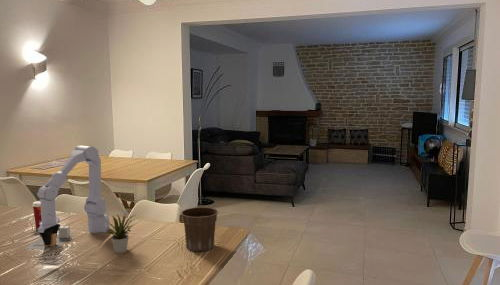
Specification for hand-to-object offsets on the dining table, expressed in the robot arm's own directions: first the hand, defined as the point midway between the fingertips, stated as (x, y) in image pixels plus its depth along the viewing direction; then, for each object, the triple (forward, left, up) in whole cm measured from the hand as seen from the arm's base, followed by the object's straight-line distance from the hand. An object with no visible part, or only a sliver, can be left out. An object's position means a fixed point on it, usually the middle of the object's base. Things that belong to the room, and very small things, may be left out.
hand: (50, 243), depth 170 cm
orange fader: (0, 0, -1) cm, 1 cm away
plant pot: (-66, -1, -2) cm, 67 cm away
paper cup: (+18, -26, -2) cm, 31 cm away
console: (+3, -5, -2) cm, 6 cm away
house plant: (-33, +3, -2) cm, 34 cm away
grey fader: (-1, -10, -1) cm, 10 cm away
